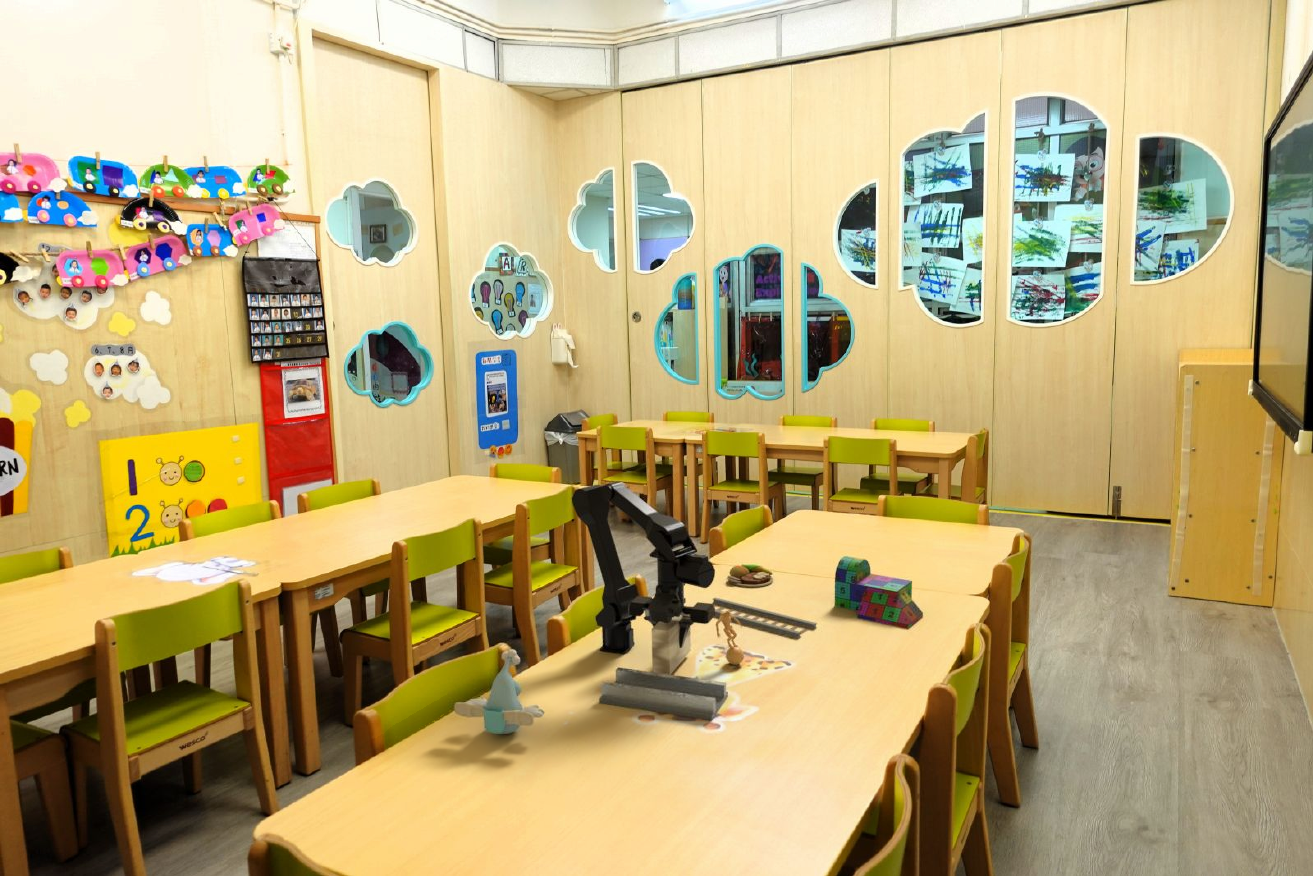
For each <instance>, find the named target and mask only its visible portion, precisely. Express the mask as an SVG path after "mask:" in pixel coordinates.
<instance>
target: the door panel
mask: <svg viewBox="0 0 1313 876" xmlns="http://www.w3.org/2000/svg"><path fill="white" fill-rule="evenodd" d="M681 619H682V615H680V616H679V617H674V618H673V617H672V620H671V621H670V622H669V623H663V622H658V623H657V624H656V625H655V626H654V627H653V626H652V628H651V654H652V655H651V657H652V658H651V659H652V660H651V661H652V667H651V668H652V672H654V673H662V674H669V675H672V674H673V672H674V671H675V670H676V669H677V668H678V666H679V665H680V664H681V663H682V662H683V661H684V659H685V658H686V657H687V656H688V655H689V654H690V652H691V651H692V649H691V647H692V644H691V643H692V642H691V640H692V639H691V635H692V634H691V627H690V628H689V631H688V633H687V636H686V639H685V642H684V644H683V647H682V648H680V646H679V636H680V626H679V621H680V620H681Z"/></svg>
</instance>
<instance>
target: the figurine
mask: <svg viewBox="0 0 1313 876" xmlns="http://www.w3.org/2000/svg"><path fill="white" fill-rule="evenodd" d="M726 611H727V612H726ZM726 611H723V612H722V613H720V618H718V619H717V621H716V622H715V628H716V635H717V638H720V637H721V633H720V632H719V631H720V629H719V624H720V623H722V625H723V626H724V628H723V633H725V635H726V637H727V638H726V641H727V645H728V646H729V648H727V651H726V653H725V658H726V661H727V662H728V663H730V664H731V665H733V666H734V665H735V666H736V665H739V664H741V663H742V662H743V661H744V657H745V654H744V651H743V649H741V648H740V647H738V645H737V644H736V643H735V641H734V640H735V639H736V637H737V636H738V635H737V632H736V631H735V629H734V627H733V625H732V624H731V622H732V621H731V618H734V619H735V621H736V622H737V623H736V624H738V625H739V626H740V627H741V628H743V626H741V624H742V623H740V622H739V621H738V620H737V619H736V618H735V616H733V615H731V614H732V613H731V612H729V611H728V610H726ZM730 613H731V614H730ZM731 642H732V644H731Z"/></svg>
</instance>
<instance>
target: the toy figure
mask: <svg viewBox="0 0 1313 876" xmlns="http://www.w3.org/2000/svg"><path fill="white" fill-rule="evenodd" d="M517 653H518V652H517V651H516V650H515V649H513V648H512V649H509V650H508V651H503V652H502V653H501V660H503V661H504V665H503V667H502V668H501V670H500V671H499V673H497V675H496V676H495V678H494V680H493V683H492V685H491V689H490V692H489V697H488V700H487V698H485V697H483V696H482V697H481V698H470V699H469V700H468V701H465V702H460V701H458V702H455V703H454V705H453V706H454V707H453V708H454V709H453V711H454V713H455V714H456V715H457V716H461V717H467V718H481V717H483V723H484V724H483V725H484V729H485V731H486V732H487V733H490V734H495V735H496V734H497V735H498V734H499V735H509V734H512V733H514V732H515V731H517V730H519V728H520V727H521V726H528V727H529V726H533V725H534V724H535V723H534V720H535V719H534V718H537V719H539V718H542V717H543V715H544V714H545V710H544V709H542V708H540V706H539V705H537V704H534V705H529V706H524V707H523V705H522V703H521V701H520V699H519V698H518V697H519V696H520V695H521V693H522V687H521V684H520V683H519V682H518V681H516V680H515V679H514V678H513V676H512V674H511V672H510V669H509V667H513V666H517V665H519V664H520V663H521V657H519V655H518V654H517Z"/></svg>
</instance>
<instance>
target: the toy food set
mask: <svg viewBox="0 0 1313 876" xmlns="http://www.w3.org/2000/svg"><path fill="white" fill-rule="evenodd" d="M772 575H773V572H772V571H770V570H769V569H767V568H765V567H764V566H762V565H758V564H741V565H740V564H739V565H734V566H733V567H732V568H730V570H729V575H727V580H728V581H729V582H730V583H731V584H732V585H735V586H737V587H742V588H761V587H765V586H768V585H771V584H772V583H773V581H774V578H773V576H772Z"/></svg>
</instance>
